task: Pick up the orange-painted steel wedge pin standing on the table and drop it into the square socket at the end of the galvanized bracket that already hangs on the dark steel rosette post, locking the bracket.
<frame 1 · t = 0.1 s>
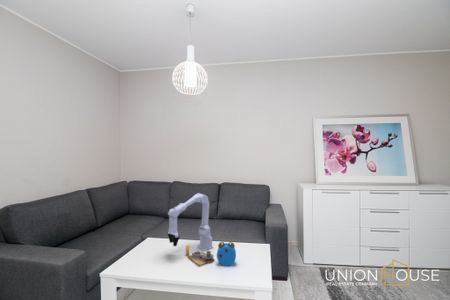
hand: (173, 244, 163), 10 cm above the table, fingers open, 7 cm apart
rosette bracket: (200, 259, 161), on the table
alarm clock: (226, 264, 154), on the table
wedge pin: (187, 255, 167), on the table
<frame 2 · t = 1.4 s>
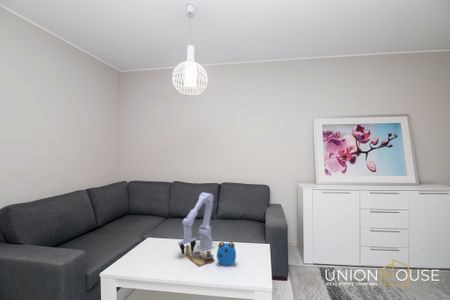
hand: (187, 252, 167), 2 cm above the table, fingers open, 7 cm apart
nothing on the table moved.
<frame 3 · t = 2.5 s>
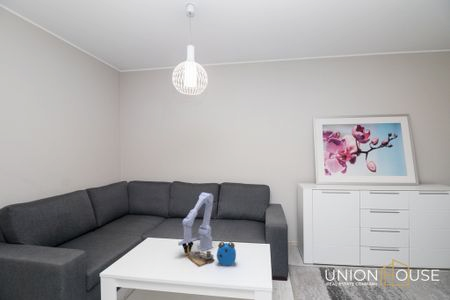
hand: (187, 252, 167), 2 cm above the table, fingers closed on wedge pin, 2 cm apart
wedge pin: (187, 255, 167), on the table, touching gripper
everything else where it was.
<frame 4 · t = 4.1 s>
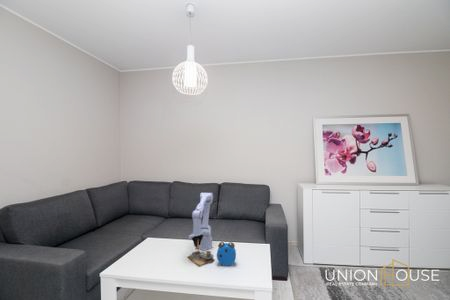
hand: (197, 245, 162), 9 cm above the table, fingers closed on wedge pin, 2 cm apart
wedge pin: (197, 248, 162), point 7 cm above the table, touching gripper
everything else where it was.
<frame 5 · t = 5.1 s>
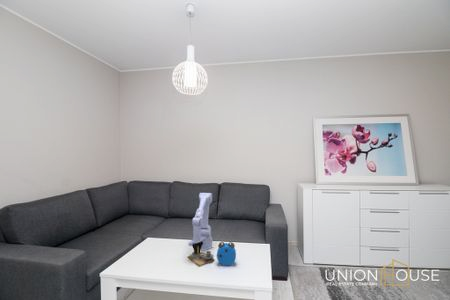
hand: (197, 252, 162), 4 cm above the table, fingers closed on wedge pin, 2 cm apart
wedge pin: (197, 255, 162), point 2 cm above the table, touching gripper
everything else where it was.
when the fingers open (4 cm above the table, at t = 5.6 s): wedge pin drops 1 cm, resting on rosette bracket.
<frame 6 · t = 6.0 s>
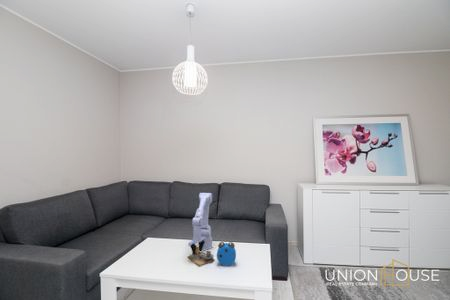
hand: (197, 252, 162), 4 cm above the table, fingers open, 6 cm apart
wedge pin: (197, 257, 162), point 1 cm above the table, touching rosette bracket
everything else where it was.
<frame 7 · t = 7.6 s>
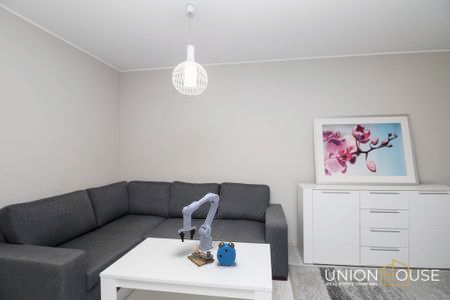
hand: (187, 240, 170), 10 cm above the table, fingers open, 7 cm apart
nothing on the table moved.
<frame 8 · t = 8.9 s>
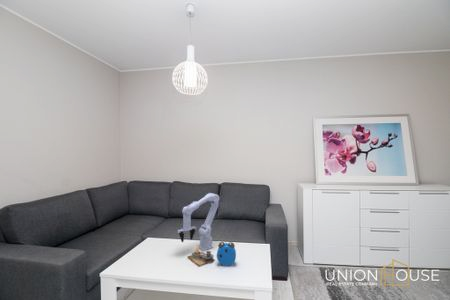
hand: (186, 240, 170), 10 cm above the table, fingers open, 7 cm apart
nothing on the table moved.
at the end: wedge pin 0.1 cm from the target spot on the rosette bracket, point 1.0 cm above the rosette bracket's base; wedge pin tilted 0°; the gripper is holding nothing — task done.
